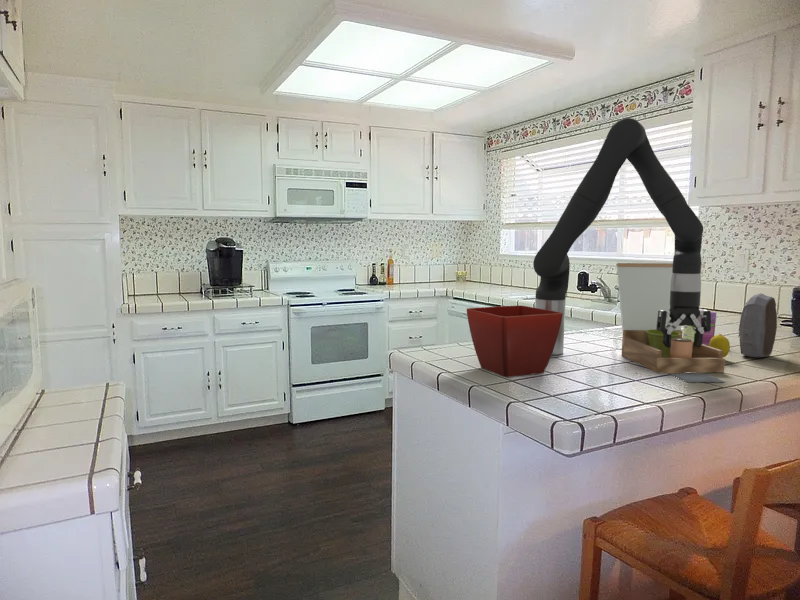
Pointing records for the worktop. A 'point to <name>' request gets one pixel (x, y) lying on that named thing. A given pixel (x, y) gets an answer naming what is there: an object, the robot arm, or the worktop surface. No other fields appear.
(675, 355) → the tan cylinder
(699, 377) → the mat
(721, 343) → the lemon
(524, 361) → the plant pot
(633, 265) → the propped lid
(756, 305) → the soft grey pack
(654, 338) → the plant pot
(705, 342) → the box
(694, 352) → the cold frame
